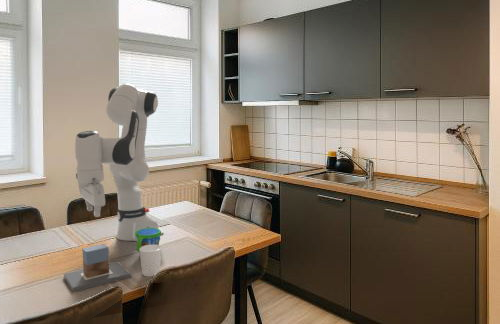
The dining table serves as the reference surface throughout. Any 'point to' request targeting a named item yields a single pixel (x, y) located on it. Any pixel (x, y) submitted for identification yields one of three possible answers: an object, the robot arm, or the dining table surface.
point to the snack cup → (147, 237)
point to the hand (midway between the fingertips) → (93, 213)
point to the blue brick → (95, 254)
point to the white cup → (150, 259)
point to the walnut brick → (96, 269)
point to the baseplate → (95, 277)
